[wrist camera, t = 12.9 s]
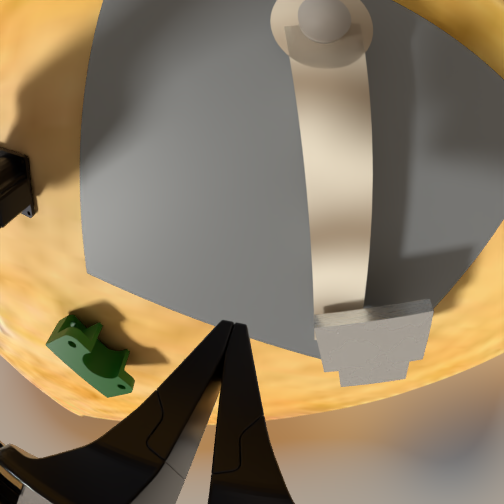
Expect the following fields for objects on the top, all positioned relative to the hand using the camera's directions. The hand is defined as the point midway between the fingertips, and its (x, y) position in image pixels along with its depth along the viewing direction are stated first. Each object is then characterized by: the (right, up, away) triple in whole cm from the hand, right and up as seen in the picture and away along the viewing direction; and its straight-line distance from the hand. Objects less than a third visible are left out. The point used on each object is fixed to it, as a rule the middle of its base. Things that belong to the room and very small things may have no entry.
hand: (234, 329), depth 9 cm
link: (+5, +6, +5) cm, 10 cm away
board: (+3, +6, +8) cm, 10 cm away
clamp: (-18, -8, +24) cm, 31 cm away
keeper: (+9, -1, +11) cm, 15 cm away
